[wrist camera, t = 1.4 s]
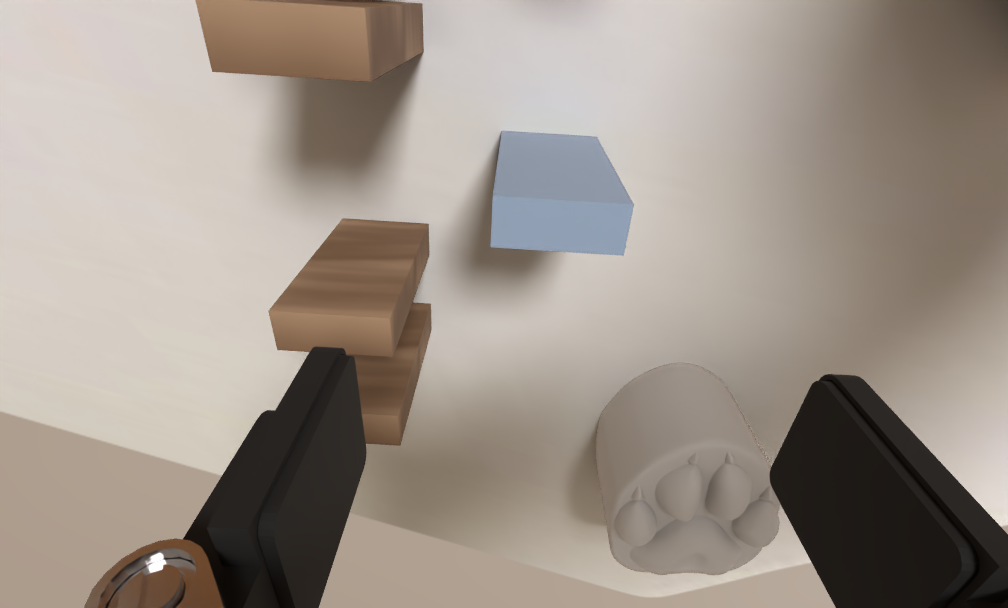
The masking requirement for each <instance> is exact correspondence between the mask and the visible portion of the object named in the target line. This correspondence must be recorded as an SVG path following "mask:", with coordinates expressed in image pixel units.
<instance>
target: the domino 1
mask: <svg viewBox="0 0 1008 608" xmlns="http://www.w3.org/2000/svg"><path fill="white" fill-rule="evenodd" d="M196 4H197V8H198V13H199V17H200V21H201V26H202V30H203V34H204V38H205V43H206V47H207V51H208V55H209V60H210V64H211V68H212V72H225V73H241V74H257V75H272V76H288V77H304V78H320V79H336V80H351V81H367V82H371V81H373V80H375V79H376V78H378V77H380V76H382V75H383V74H385V73H387V72H389V71H390V70H392V69H394V68H396V67H397V66H399V65H401V64H403V63H404V62H406V61H408V60H410V59H411V58H413V57H415V56H417V55H419V54H420V53H422V52H424V47H423V12H422V4H420V3H405V2H389V1H373V0H196Z"/></svg>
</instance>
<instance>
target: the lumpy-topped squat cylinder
mask: <svg viewBox="0 0 1008 608" xmlns="http://www.w3.org/2000/svg"><path fill="white" fill-rule="evenodd" d="M596 465H597V471H598V477H599V483H600V489H601V495H602V501H603V508H604V514H605V520H606V526H607V531H608V537H609V544H610V548H611V552H612V554H613V556H614V558H615V559H616V560H617V561H618V562H619V563H620V564H622V565H623V566H625V567H627V568H629V569H631V570H634V571H640V572H651V573H654V574H658V575H665V574H672V573H702V574H708V575H720V574H724V573H726V572H728V571H730V570H733V569H736V568H738V567H740V566H742V565H744V564H746V563H747V562H749V561H750V560H752V559H753V558H754V557H755V556H756V555H757V554H758V553H759V552H760V551H761V549H762V547H764V546H767V545H768V544H769V543H770V542H771V541H772V540H773V539H774V538H775V536H776V534H777V532H778V529H779V518H778V511H779V507H780V502H779V500H778V498H777V496H776V494H775V493H774V491H773V489H772V486H771V484H770V477H769V475H770V470H771V468H770V466H769V464H768V462H767V460H766V458H765V456H764V454H763V453H762V451H761V449H760V447H759V445H758V443H757V441H756V439H755V437H754V436H753V434H752V432H751V430H750V428H749V426H748V424H747V422H746V421H745V419H744V417H743V415H742V413H741V411H740V409H739V407H738V405H737V404H736V402H735V400H734V398H733V396H732V394H731V392H730V391H729V389H728V388H727V386H726V385H725V384H724V382H723V381H722V380H721V379H719V378H718V377H717V376H715V375H714V374H713V373H711V372H709V371H708V370H706V369H704V368H702V367H699V366H697V365H693V364H687V363H673V364H667V365H663V366H660V367H657V368H654V369H652V370H650V371H648V372H646V373H644V374H642V375H640V376H638V377H637V378H635V379H633V380H632V381H631V382H629V383H628V384H627V385H626V386H624V387H623V388H622V389H621V390H620V391H619V392H618V393H617V394H616V396H615V397H614V398H613V399H612V400H611V401H610V402H609V404H608V405H607V406H606V407H605V409H604V410H603V411H602V413H601V416H600V419H599V423H598V428H597V435H596Z"/></svg>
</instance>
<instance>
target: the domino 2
mask: <svg viewBox="0 0 1008 608" xmlns="http://www.w3.org/2000/svg"><path fill="white" fill-rule="evenodd" d="M428 257H429V225H428V224H422V223H405V222H389V221H373V220H357V219H342V220H341V221H340V223H339V224H338V225H337V226H336V228H335V229H334V230H333V231H332V233H331V234H330V235H329V236H328V238H327V239H326V240H325V241H324V243H323V244H322V245H321V246H320V248H319V249H318V250H317V251H316V252H315V254H314V255H313V256H312V257H311V259H310V260H309V261H308V262H307V264H306V265H305V266H304V267H303V269H302V270H301V271H300V272H299V274H298V275H297V276H296V277H295V279H294V280H293V281H292V282H291V284H290V285H289V286H288V287H287V289H286V290H285V291H284V292H283V294H282V295H281V296H280V297H279V298H278V300H277V301H276V302H275V303H274V305H273V306H272V307H271V308H270V310H269V316H270V320H271V324H272V328H273V333H274V337H275V341H276V346H277V350H288V351H304V352H310V351H311V350H312V348H313V347H315V346H317V347H335V348H343V349H344V350H345V352H346V354H353V355H370V356H386V357H393V356H394V353H395V350H396V347H397V344H398V342H399V339H400V336H401V333H402V330H403V328H404V325H405V322H406V319H407V316H408V313H409V311H410V308H411V305H412V302H413V299H414V297H415V294H416V291H417V288H418V285H419V282H420V280H421V277H422V274H423V271H424V268H425V266H426V263H427V260H428Z"/></svg>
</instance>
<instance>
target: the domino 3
mask: <svg viewBox="0 0 1008 608" xmlns="http://www.w3.org/2000/svg"><path fill="white" fill-rule="evenodd" d="M430 333H431V304H424V303H412V305H411V308H410V311H409V313H408V316H407V319H406V322H405V325H404V328H403V330H402V333H401V336H400V339H399V342H398V344H397V347H396V350H395V353H394V356H393V357H386V356H370V355H353V354H346V355H350V356H354V358H355V364H356V372H357V379H358V387H359V395H360V403H361V411H362V419H363V427H364V435H365V443H367V444H383V445H401V441H402V437H403V433H404V430H405V426H406V422H407V418H408V415H409V411H410V407H411V404H412V400H413V396H414V392H415V389H416V385H417V381H418V378H419V374H420V370H421V366H422V363H423V359H424V355H425V352H426V348H427V344H428V340H429V337H430Z"/></svg>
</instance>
